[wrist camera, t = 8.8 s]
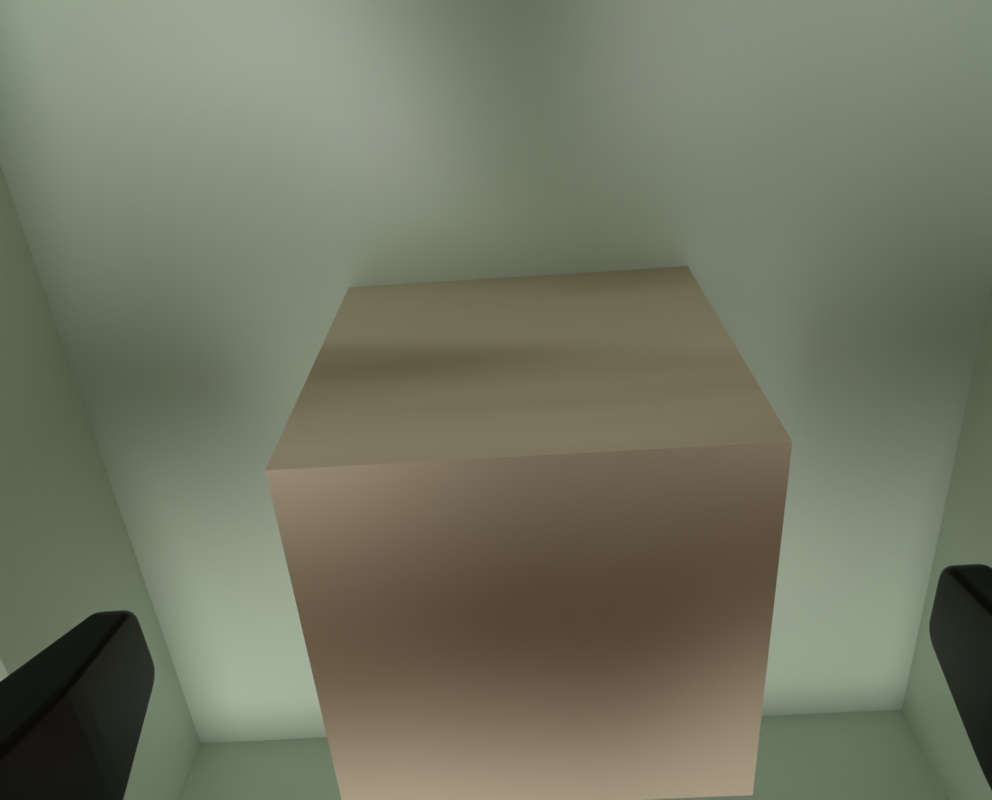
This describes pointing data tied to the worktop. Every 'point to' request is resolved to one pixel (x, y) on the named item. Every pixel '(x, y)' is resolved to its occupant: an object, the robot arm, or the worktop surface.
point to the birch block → (534, 539)
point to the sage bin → (485, 255)
